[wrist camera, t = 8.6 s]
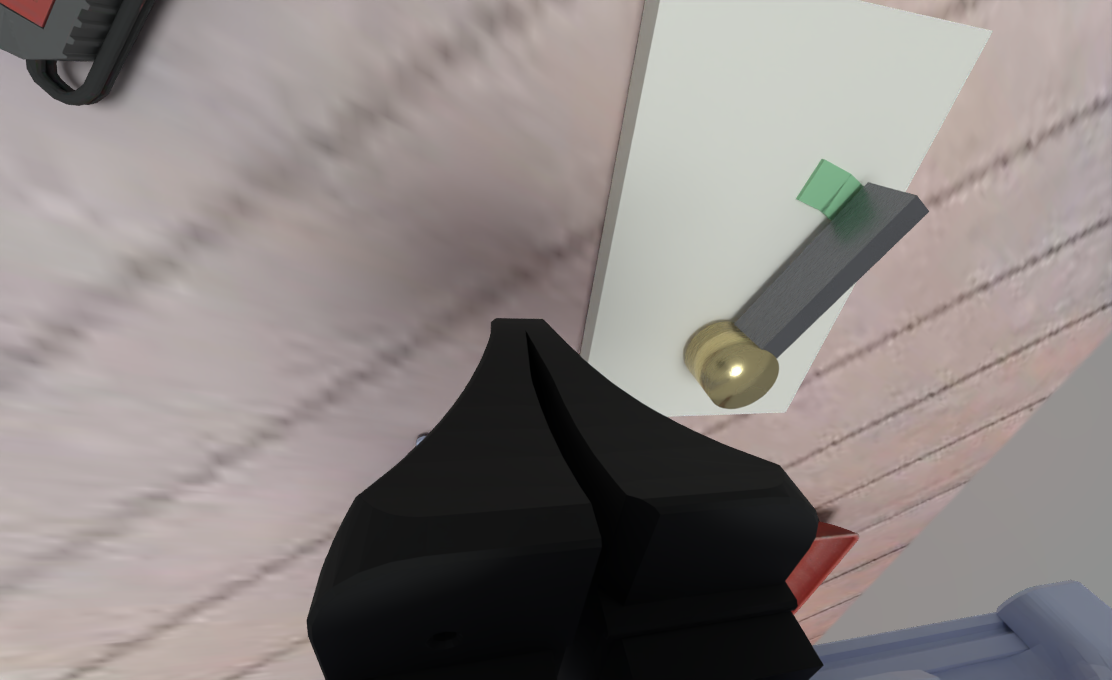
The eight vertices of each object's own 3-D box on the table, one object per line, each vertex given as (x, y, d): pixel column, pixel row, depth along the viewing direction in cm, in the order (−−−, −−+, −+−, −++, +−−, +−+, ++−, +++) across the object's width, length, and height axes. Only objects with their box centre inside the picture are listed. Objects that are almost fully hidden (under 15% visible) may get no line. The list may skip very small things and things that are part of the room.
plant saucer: (611, 625, 43) (621, 662, 41) (653, 517, 34) (670, 556, 31) (760, 602, 47) (779, 634, 45) (835, 500, 38) (864, 533, 35)
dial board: (771, 397, 28) (787, 414, 27) (571, 402, 25) (577, 422, 24) (955, 33, 18) (998, 30, 16) (651, -34, 15) (671, -45, 13)
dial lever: (714, 385, 24) (740, 417, 22) (671, 361, 22) (694, 394, 20) (888, 209, 20) (943, 227, 17) (851, 165, 18) (905, 178, 16)
